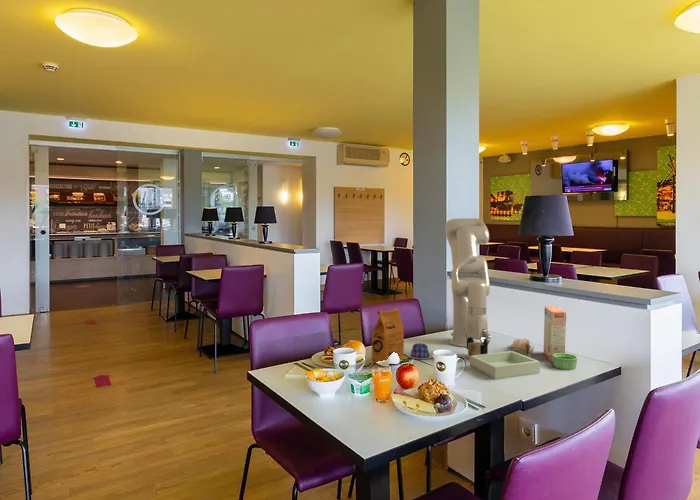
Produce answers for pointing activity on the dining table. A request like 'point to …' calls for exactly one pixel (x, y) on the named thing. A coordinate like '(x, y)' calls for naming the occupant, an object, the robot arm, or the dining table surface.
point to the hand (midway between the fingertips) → (476, 351)
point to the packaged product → (522, 347)
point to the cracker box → (554, 331)
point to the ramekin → (564, 361)
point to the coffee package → (388, 336)
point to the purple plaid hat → (419, 352)
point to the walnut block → (474, 349)
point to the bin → (504, 364)
